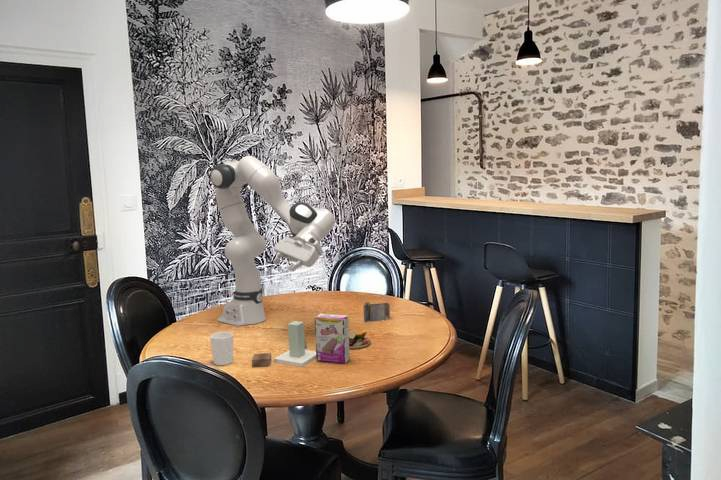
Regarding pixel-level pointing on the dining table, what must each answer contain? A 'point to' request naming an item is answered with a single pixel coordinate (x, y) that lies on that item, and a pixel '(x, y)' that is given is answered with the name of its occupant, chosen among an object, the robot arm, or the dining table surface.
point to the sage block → (296, 339)
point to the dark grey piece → (376, 311)
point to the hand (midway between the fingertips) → (282, 266)
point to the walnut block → (261, 360)
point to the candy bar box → (332, 338)
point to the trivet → (295, 361)
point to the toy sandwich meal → (358, 340)
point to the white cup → (222, 348)
